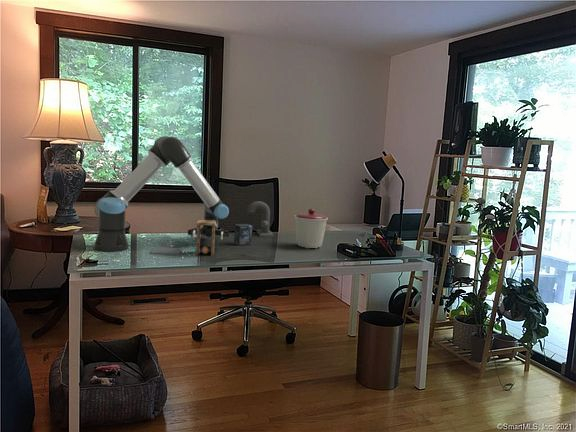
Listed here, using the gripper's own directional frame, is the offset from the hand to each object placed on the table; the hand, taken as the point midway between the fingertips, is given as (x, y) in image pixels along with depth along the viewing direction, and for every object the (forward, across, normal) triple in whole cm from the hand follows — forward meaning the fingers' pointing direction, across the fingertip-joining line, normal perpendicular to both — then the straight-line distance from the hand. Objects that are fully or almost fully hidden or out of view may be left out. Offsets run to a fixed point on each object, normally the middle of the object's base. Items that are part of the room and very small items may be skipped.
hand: (207, 236), depth 239 cm
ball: (+4, +1, -8) cm, 9 cm away
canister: (-24, -54, -8) cm, 59 cm away
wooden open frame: (+4, +1, -8) cm, 9 cm away
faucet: (-56, -28, -8) cm, 63 cm away
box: (-23, -18, -8) cm, 30 cm away
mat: (+3, +19, -8) cm, 20 cm away
